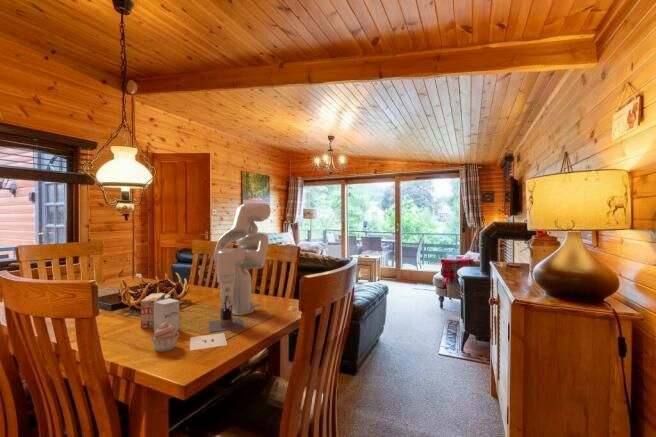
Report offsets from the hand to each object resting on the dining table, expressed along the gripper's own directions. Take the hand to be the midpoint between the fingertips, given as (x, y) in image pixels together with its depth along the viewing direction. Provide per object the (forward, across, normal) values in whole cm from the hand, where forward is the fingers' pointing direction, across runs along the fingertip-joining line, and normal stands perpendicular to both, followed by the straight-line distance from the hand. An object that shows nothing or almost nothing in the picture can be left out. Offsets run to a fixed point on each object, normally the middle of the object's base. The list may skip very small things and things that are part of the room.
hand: (226, 316), depth 142 cm
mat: (+4, 0, 0) cm, 4 cm away
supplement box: (+4, +3, +24) cm, 25 cm away
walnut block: (+4, 0, 0) cm, 4 cm away
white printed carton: (+4, +20, +29) cm, 35 cm away
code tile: (+4, -16, +8) cm, 18 cm away
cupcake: (+4, -17, +23) cm, 29 cm away
